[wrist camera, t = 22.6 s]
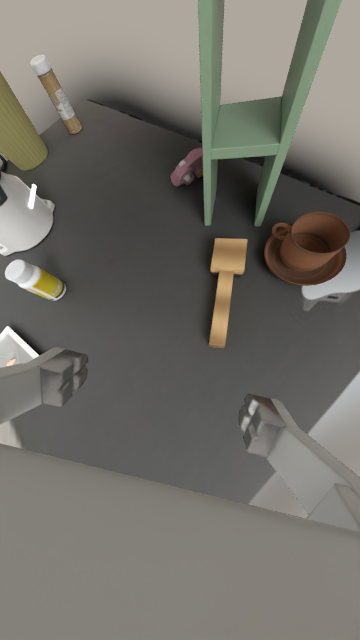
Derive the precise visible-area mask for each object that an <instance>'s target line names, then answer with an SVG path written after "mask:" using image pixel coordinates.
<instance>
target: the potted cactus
mask: <svg viewBox="0 0 360 640" xmlns="http://www.w3.org/2000/svg"><path fill="white" fill-rule="evenodd" d="M0 152H1V153H2V154H3V155H4V156H5V157H7V158H8V159H9V160H10V161H11V162H12V163H13V164H14V165H16V166H17V167H18V168H19V169H21V170H30V169H33V168H35V167H37V166H38V165H39V164H41V163H42V162H43V161H44V160H45V158H46V157H47V154H48V150H47V148H46V146H45V144H44V143H43V141H42V140H41V138H40V136H39V135H38V133H37V131H36V130H35V128H34V126H33V125H32V123H31V121H30V120H29V118H28V116H27V115H26V113H25V111H24V110H23V108H22V106H21V105H20V103H19V101H18V100H17V98H16V96H15V95H14V93H13V91H12V90H11V88H10V86H9V85H8V83H7V81H6V80H5V78H4V77H3V75H2V74H1V72H0Z"/></svg>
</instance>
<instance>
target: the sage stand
mask: <svg viewBox="0 0 360 640" xmlns="http://www.w3.org/2000/svg"><path fill="white" fill-rule="evenodd" d="M341 1H342V0H308V1H307V5H306V8H305V13H304V16H303V20H302V23H301V28H300V31H299V35H298V38H297V42H296V46H295V50H294V53H293V58H292V61H291V65H290V69H289V72H288V76H287V80H286V84H285V87H284V91H283V95H282V97H275V98H268V99H261V100H253V101H246V102H239V103H232V104H225V105H220V91H221V68H222V42H223V19H224V0H198V15H199V48H200V83H201V114H202V115H201V116H202V150H203V184H204V218H205V226H210V225H211V219H212V213H213V207H214V202H215V196H216V189H217V165H218V159H229V158H242V157H256V156H266V159H265V162H264V166H263V170H262V174H261V177H260V181H259V185H258V189H257V200H256V212H255V224H254V226H261V224H262V221H263V219H264V216H265V213H266V210H267V207H268V205H269V202H270V199H271V196H272V193H273V191H274V188H275V185H276V182H277V180H278V177H279V174H280V171H281V168H282V166H283V162H284V160H285V157H286V154H287V151H288V149H289V146H290V143H291V140H292V138H293V134H294V132H295V129H296V126H297V124H298V121H299V118H300V115H301V113H302V110H303V107H304V104H305V101H306V99H307V96H308V93H309V90H310V87H311V85H312V82H313V79H314V76H315V74H316V71H317V68H318V65H319V62H320V60H321V56H322V54H323V51H324V48H325V46H326V43H327V40H328V37H329V34H330V32H331V29H332V26H333V23H334V20H335V18H336V15H337V12H338V9H339V6H340V3H341Z"/></svg>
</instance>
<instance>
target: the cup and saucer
mask: <svg viewBox="0 0 360 640" xmlns="http://www.w3.org/2000/svg"><path fill="white" fill-rule="evenodd" d="M278 227H282V228H280V229H279V230H277V231H276V229H277V228H278ZM349 239H350V229H349V227H348V225H347V223H346V222H345V221H344V220H343V219H341V218H340V217H338V216H336V215H334V214H331V213H327V212H311V213H307V214H305V215H303V216H301V217H299V218H298V219H297V220H296V221H295V222H294V223H293V224H291V225H289V224H286V223H282V222H281V223H277V224H275V225H274V226H273V228H272V235H271V236H270V238H269V239H268V241H267V243H266V245H265V250H264V257H265V261H266V264H267V266H268V267H269V269H270V270H271V271H272V272H273V273H274V274H275V275H276V276H277V277H279V278H280V279H282V280H284V281H286V282H289V283H292V284H296V285H316V284H320V283H323V282H326V281H328V280H330V279H332V278H333V277H335V276H336V275H337V274H338V273H339V272H340V271H341V270H342V269H343V267H344V265H345V262H346V250H345V247H344V246H345V245H346V244H347V243H348V241H349Z"/></svg>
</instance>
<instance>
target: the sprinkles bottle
mask: <svg viewBox="0 0 360 640" xmlns="http://www.w3.org/2000/svg"><path fill="white" fill-rule="evenodd" d="M30 65H31V67H32V69H33V70H34V72H35V74H36V75H37V76H38V78H39V79H40V81H41V83H42V84H43V86H44V88H45V89H46V91H47V93H48V95H49V97H50V99H51V100H52V102H53V104H54V105H55V107H56V109H57V111H58V112H59V114H60V116H61V118H62V119H63V121H64V123H65V124H66V126H67V128H68V130H69V132H70V133H71V134H76V133H78V132H79V131H80V130H81V129H82V126H81V124H80V123H79V121H78V119H77V117H76V115H75V113H74V111H73V109H72V107H71V105H70V103H69V101H68V99H67V97H66V95H65V93H64V91H63V90H62V87H61V86H60V84H59V82H58V80H57V79H56V76H55V75H54V73H53V71H52V69H51V65H50V64H49V62H48V60H47V58H46V56H45V55H43V54H41V55H38V56H36V57H34V58H33V59H32V60H31V61H30Z"/></svg>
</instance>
